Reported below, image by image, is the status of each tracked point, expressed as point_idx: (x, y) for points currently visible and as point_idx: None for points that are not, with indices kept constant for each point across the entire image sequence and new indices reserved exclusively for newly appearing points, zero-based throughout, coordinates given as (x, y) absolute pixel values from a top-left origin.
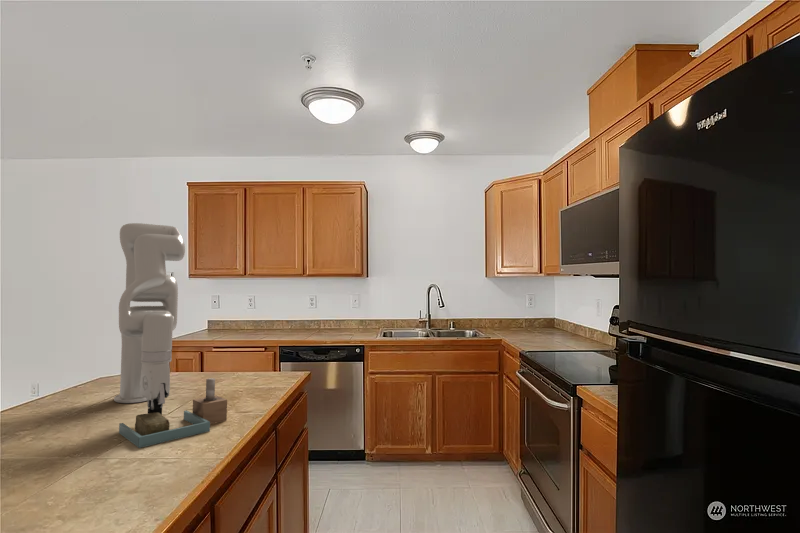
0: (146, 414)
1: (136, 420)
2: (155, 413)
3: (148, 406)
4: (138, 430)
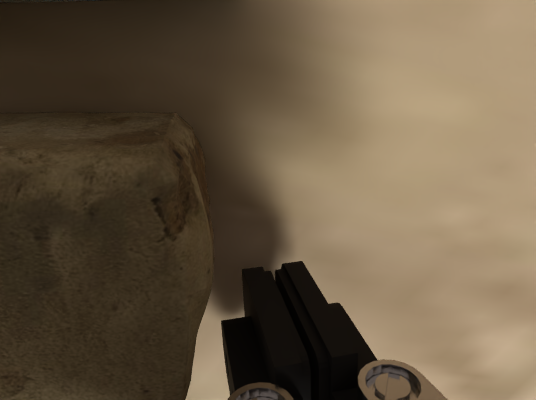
0: (102, 290)
1: (141, 138)
2: (113, 394)
3: (403, 375)
4: (15, 116)
